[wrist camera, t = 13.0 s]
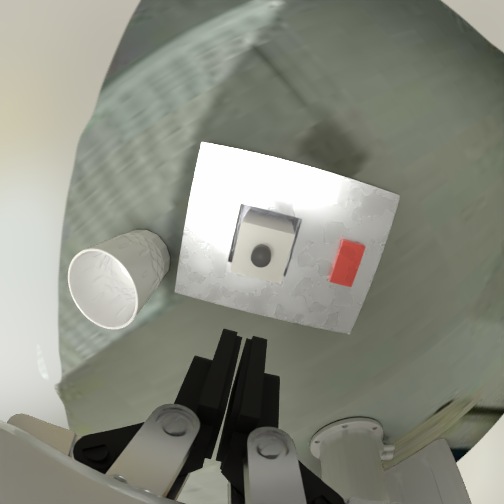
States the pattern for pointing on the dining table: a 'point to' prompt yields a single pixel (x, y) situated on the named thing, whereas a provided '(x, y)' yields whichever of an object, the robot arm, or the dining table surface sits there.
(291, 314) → the socket plate
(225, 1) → the dining table surface
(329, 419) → the dining table surface
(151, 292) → the white cup
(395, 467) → the paper bag
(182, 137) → the dining table surface
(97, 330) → the dining table surface
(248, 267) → the plug
